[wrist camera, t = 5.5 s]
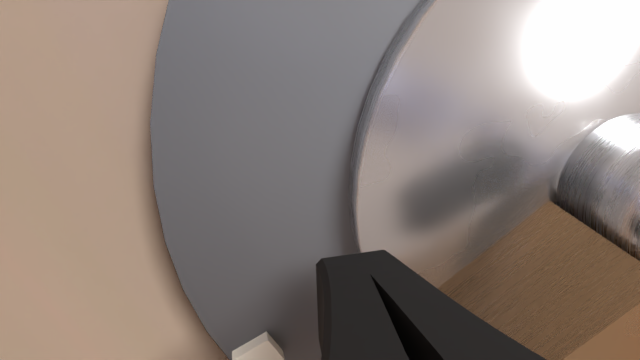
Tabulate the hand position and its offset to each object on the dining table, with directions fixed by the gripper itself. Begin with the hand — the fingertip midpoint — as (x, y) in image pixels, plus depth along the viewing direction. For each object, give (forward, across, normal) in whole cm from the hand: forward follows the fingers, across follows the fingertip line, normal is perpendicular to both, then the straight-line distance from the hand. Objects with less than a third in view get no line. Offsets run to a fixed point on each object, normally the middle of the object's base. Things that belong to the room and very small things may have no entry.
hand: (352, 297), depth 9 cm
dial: (+2, -5, -1) cm, 6 cm away
